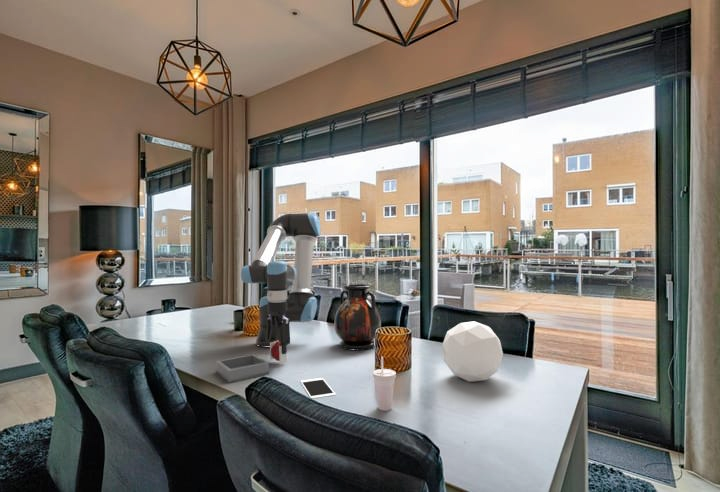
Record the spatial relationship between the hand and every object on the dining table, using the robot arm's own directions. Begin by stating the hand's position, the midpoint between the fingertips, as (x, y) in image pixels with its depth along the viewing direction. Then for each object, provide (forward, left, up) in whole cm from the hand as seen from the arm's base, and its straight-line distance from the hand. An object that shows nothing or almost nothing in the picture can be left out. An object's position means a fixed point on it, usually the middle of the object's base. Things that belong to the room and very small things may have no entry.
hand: (278, 360), depth 142 cm
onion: (0, 0, 0) cm, 0 cm away
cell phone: (-10, +30, -2) cm, 32 cm away
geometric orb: (-61, +39, -2) cm, 72 cm away
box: (+13, +7, -1) cm, 15 cm away
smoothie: (-25, +51, -2) cm, 57 cm away
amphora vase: (-37, -15, -2) cm, 40 cm away
